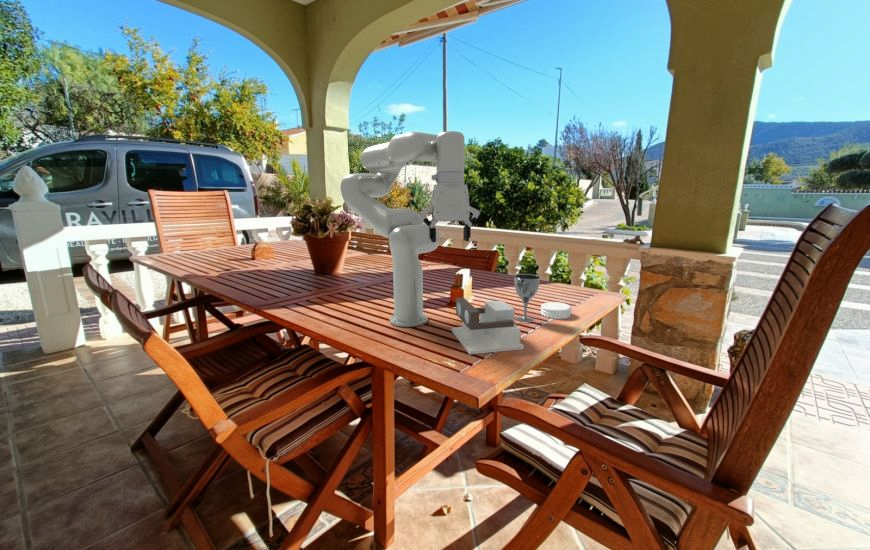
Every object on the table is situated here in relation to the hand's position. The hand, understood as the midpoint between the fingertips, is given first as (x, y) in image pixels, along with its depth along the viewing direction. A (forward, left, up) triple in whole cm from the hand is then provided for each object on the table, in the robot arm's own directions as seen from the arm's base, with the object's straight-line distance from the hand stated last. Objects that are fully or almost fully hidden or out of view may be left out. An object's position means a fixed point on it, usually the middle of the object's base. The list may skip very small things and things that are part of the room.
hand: (449, 241), depth 109 cm
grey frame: (+6, +8, -22) cm, 25 cm away
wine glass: (-7, +28, -28) cm, 41 cm away
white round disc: (-10, +41, -29) cm, 51 cm away
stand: (+6, +9, -28) cm, 30 cm away
